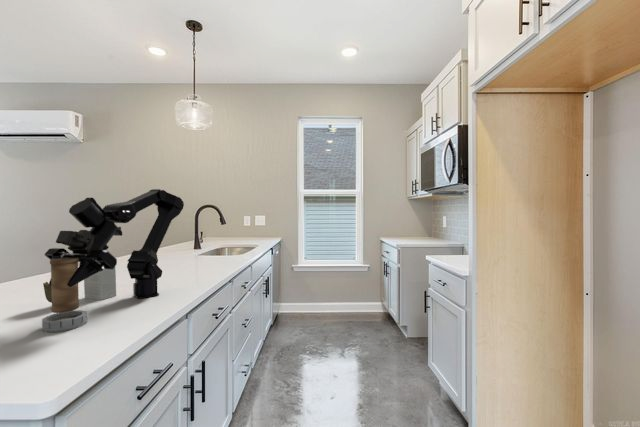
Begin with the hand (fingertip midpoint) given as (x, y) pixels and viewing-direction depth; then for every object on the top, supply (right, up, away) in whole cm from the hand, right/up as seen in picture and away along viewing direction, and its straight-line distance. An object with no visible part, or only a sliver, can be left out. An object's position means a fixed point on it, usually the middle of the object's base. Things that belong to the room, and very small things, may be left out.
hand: (59, 285), depth 80 cm
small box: (-9, -10, +27) cm, 31 cm away
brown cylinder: (0, -7, +2) cm, 7 cm away
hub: (0, -11, +1) cm, 11 cm away
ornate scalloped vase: (-14, -11, +17) cm, 24 cm away
